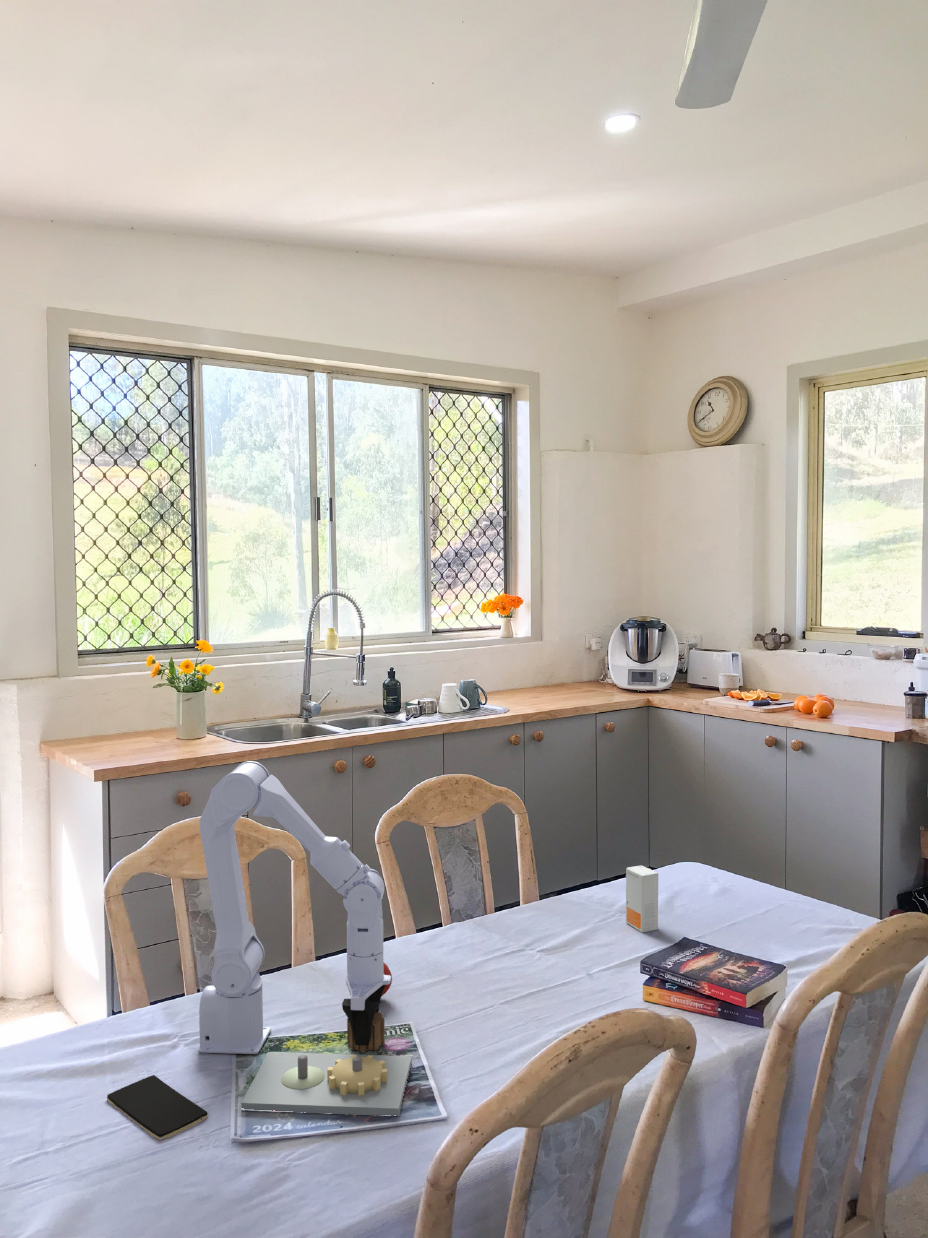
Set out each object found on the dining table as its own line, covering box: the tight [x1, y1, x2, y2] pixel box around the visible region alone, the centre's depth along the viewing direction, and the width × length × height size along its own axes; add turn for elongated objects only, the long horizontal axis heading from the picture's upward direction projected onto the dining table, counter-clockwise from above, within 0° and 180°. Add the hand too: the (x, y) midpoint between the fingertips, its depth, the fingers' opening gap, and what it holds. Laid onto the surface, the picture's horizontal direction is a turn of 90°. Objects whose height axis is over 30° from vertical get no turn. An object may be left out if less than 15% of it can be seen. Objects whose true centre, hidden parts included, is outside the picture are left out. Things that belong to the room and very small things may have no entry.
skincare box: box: [625, 864, 659, 933], centre depth 200 cm, size 6×4×12 cm
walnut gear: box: [346, 1011, 386, 1053], centre depth 152 cm, size 6×6×4 cm
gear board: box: [240, 1051, 413, 1117], centre depth 139 cm, size 22×14×4 cm, turn 86°
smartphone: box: [106, 1074, 209, 1141], centre depth 134 cm, size 7×1×15 cm
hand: (366, 1034), depth 152 cm, fingers open, 6 cm apart
